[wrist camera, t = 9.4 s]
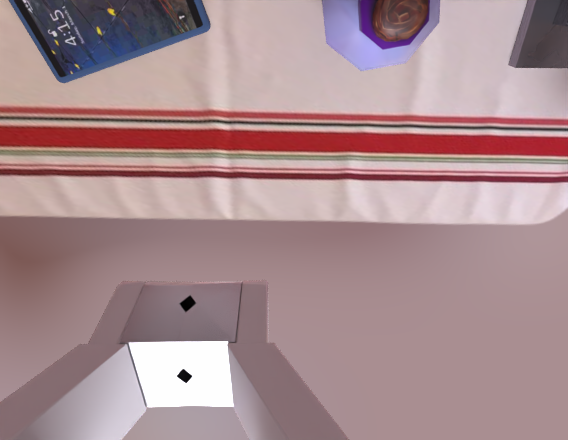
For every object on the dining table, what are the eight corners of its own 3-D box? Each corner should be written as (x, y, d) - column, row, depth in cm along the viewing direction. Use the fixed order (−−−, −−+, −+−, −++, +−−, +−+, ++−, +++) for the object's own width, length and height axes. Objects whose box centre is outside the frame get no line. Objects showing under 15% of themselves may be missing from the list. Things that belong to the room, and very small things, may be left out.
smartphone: (211, 30, 33) (58, 85, 35) (213, 28, 34) (62, 83, 36) (171, -77, 29) (2, -7, 31) (174, -76, 30) (8, -8, 32)
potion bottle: (340, 75, 36) (366, 115, 26) (291, -19, 32) (299, -14, 22) (429, 18, 33) (497, 38, 23) (388, -90, 29) (448, -122, 19)
